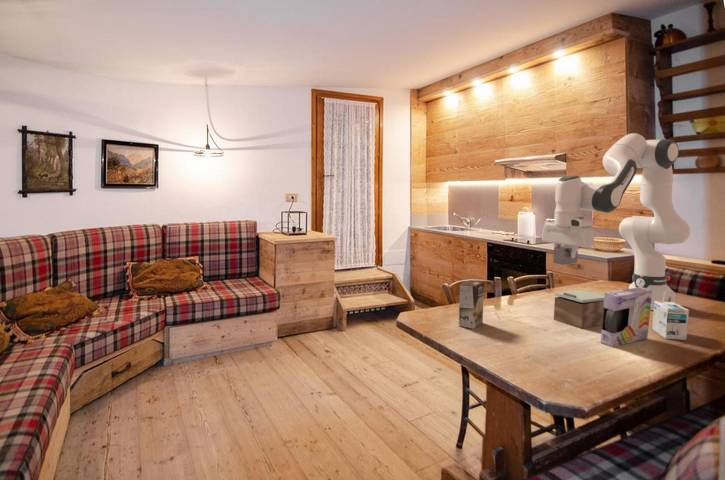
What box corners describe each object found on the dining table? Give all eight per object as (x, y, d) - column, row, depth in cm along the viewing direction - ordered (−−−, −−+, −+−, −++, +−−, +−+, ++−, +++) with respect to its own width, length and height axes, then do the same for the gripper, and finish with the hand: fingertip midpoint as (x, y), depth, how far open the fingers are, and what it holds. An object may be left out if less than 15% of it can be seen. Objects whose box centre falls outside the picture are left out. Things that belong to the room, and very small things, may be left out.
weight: (568, 260, 166) (568, 245, 165) (577, 262, 163) (577, 246, 162) (553, 262, 163) (554, 247, 162) (562, 264, 159) (563, 248, 158)
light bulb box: (687, 340, 146) (690, 309, 145) (665, 339, 148) (667, 308, 146) (671, 330, 157) (674, 301, 155) (650, 329, 158) (653, 300, 157)
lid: (582, 292, 175) (582, 288, 175) (610, 299, 164) (611, 294, 164) (555, 295, 168) (555, 290, 168) (582, 302, 157) (583, 297, 157)
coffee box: (474, 329, 158) (476, 286, 156) (458, 326, 161) (459, 284, 159) (483, 322, 165) (484, 281, 163) (467, 319, 169) (468, 279, 167)
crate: (580, 314, 176) (582, 292, 175) (608, 322, 166) (610, 299, 164) (553, 319, 169) (554, 297, 168) (581, 328, 158) (582, 304, 157)
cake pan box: (610, 348, 139) (614, 295, 137) (596, 343, 144) (600, 291, 142) (649, 339, 147) (653, 289, 145) (635, 335, 152) (639, 286, 149)
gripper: (538, 218, 168) (537, 253, 170) (586, 222, 150) (584, 261, 152) (550, 217, 171) (548, 251, 173) (597, 221, 153) (595, 259, 155)
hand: (565, 256), depth 162 cm, fingers closed on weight, 4 cm apart
